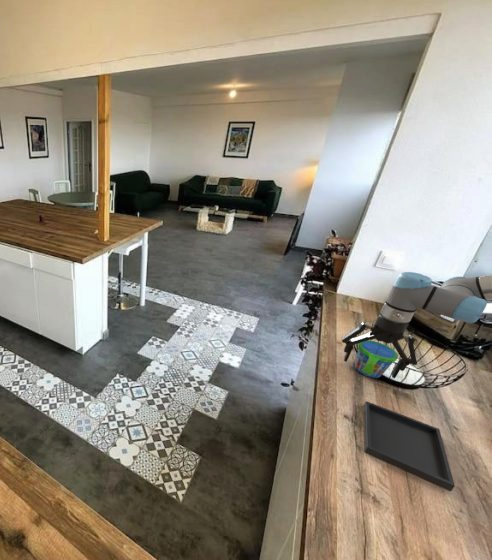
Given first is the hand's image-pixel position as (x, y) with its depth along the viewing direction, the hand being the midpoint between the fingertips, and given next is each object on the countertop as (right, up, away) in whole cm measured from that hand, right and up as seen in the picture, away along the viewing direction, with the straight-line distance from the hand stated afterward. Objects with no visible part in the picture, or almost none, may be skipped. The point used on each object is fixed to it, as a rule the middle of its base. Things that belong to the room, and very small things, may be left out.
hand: (368, 367), depth 110 cm
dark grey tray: (-12, -14, -25) cm, 31 cm away
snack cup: (0, -2, +1) cm, 2 cm away
